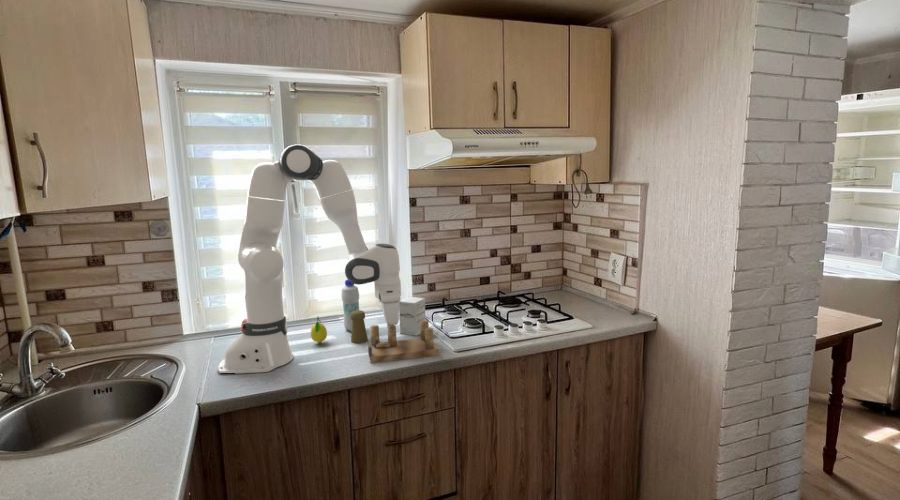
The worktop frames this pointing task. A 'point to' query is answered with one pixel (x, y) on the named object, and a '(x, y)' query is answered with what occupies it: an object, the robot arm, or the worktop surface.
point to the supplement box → (411, 315)
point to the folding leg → (391, 338)
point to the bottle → (349, 302)
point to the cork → (358, 327)
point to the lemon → (318, 332)
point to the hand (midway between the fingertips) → (390, 329)
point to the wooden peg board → (403, 346)
